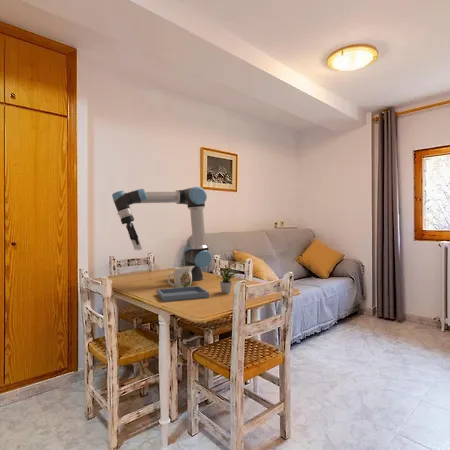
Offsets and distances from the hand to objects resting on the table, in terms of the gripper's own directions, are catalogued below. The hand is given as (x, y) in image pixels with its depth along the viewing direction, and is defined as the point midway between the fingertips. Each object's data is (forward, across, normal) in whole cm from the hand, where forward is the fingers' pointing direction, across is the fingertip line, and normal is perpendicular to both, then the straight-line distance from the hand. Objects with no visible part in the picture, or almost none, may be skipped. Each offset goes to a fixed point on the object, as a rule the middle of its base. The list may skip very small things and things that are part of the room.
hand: (138, 249), depth 198 cm
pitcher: (+32, +7, +15) cm, 36 cm away
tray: (+31, +24, +11) cm, 41 cm away
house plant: (+40, +25, +35) cm, 58 cm away
